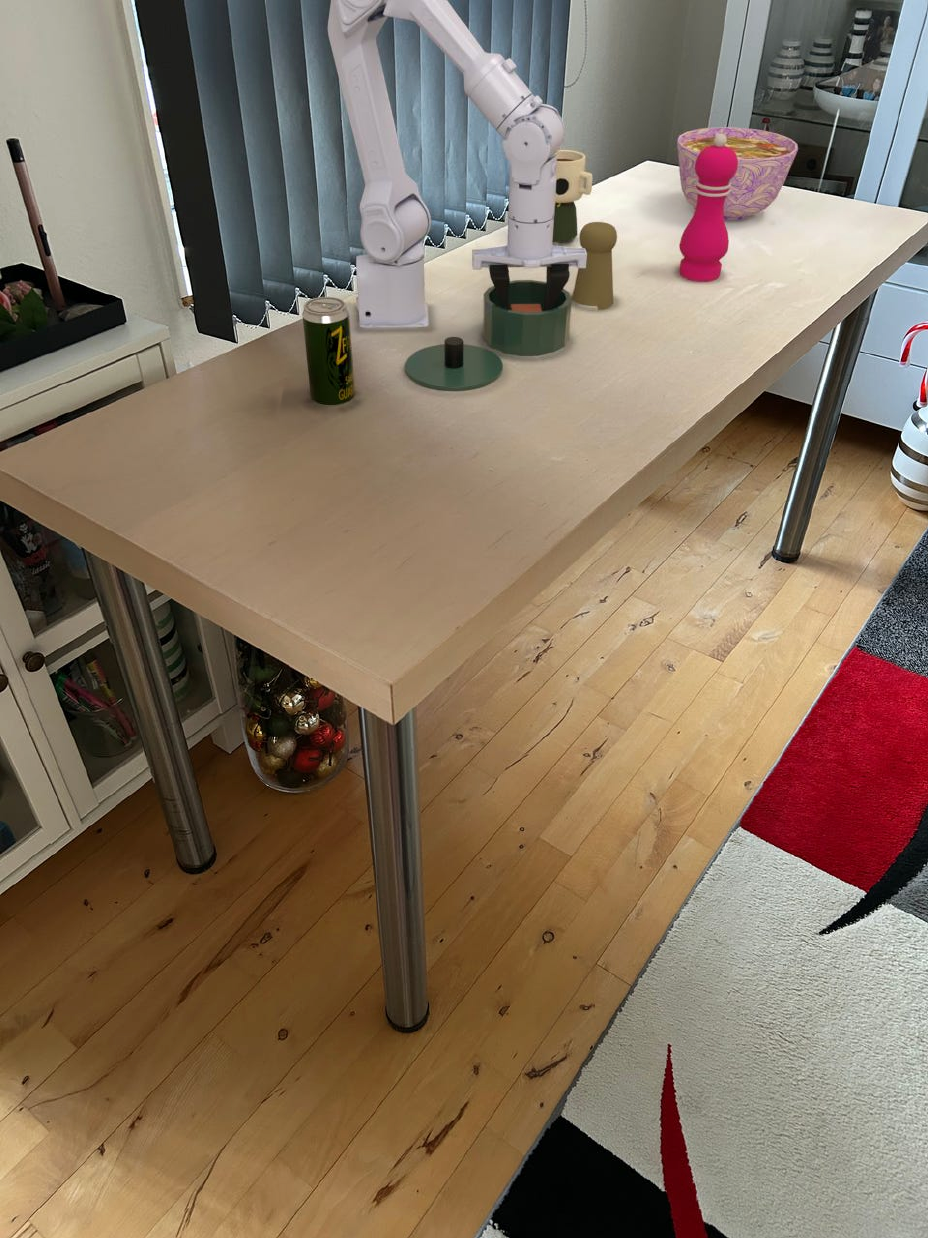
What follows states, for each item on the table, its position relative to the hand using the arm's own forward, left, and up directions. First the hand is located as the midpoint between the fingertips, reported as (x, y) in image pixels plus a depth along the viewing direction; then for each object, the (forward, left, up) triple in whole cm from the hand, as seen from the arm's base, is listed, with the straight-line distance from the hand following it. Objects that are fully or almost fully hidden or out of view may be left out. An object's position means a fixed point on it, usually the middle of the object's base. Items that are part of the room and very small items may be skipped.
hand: (526, 320), depth 134 cm
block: (0, 0, -2) cm, 2 cm away
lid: (-10, -9, -2) cm, 14 cm away
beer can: (-25, -16, -3) cm, 30 cm away
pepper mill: (+29, +23, -3) cm, 37 cm away
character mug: (+9, +39, -3) cm, 40 cm away
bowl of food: (+40, +51, -3) cm, 65 cm away
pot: (0, 0, -3) cm, 3 cm away
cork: (+11, +13, -3) cm, 17 cm away
